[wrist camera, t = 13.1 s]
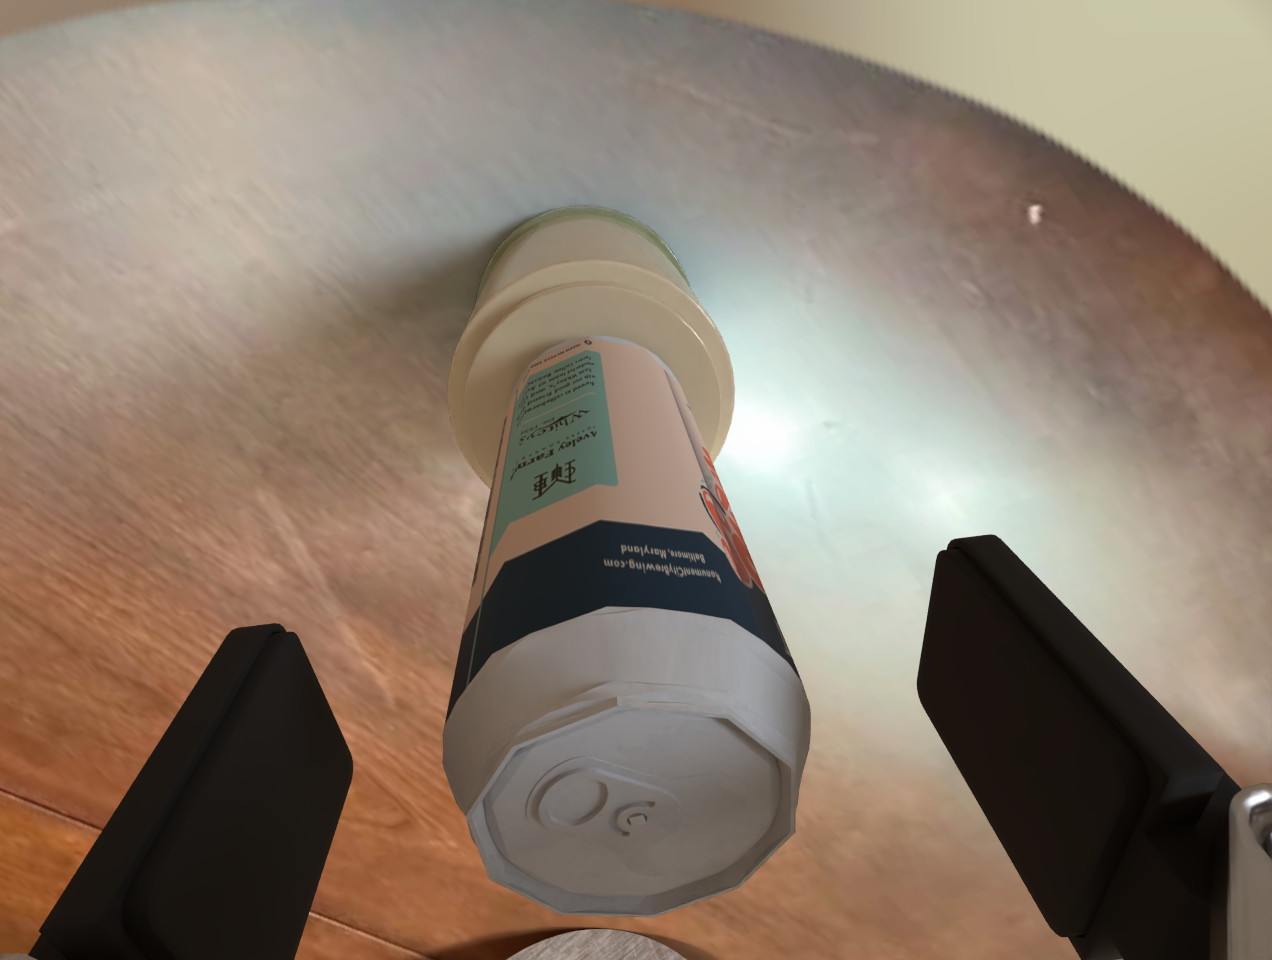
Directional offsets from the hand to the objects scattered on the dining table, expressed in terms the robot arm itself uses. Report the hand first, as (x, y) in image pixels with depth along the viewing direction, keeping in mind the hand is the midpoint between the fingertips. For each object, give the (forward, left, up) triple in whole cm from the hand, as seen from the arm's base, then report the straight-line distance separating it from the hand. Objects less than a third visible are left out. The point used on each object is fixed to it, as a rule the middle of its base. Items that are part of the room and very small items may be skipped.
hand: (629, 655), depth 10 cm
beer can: (0, 0, -10) cm, 10 cm away
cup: (0, 0, -19) cm, 19 cm away
